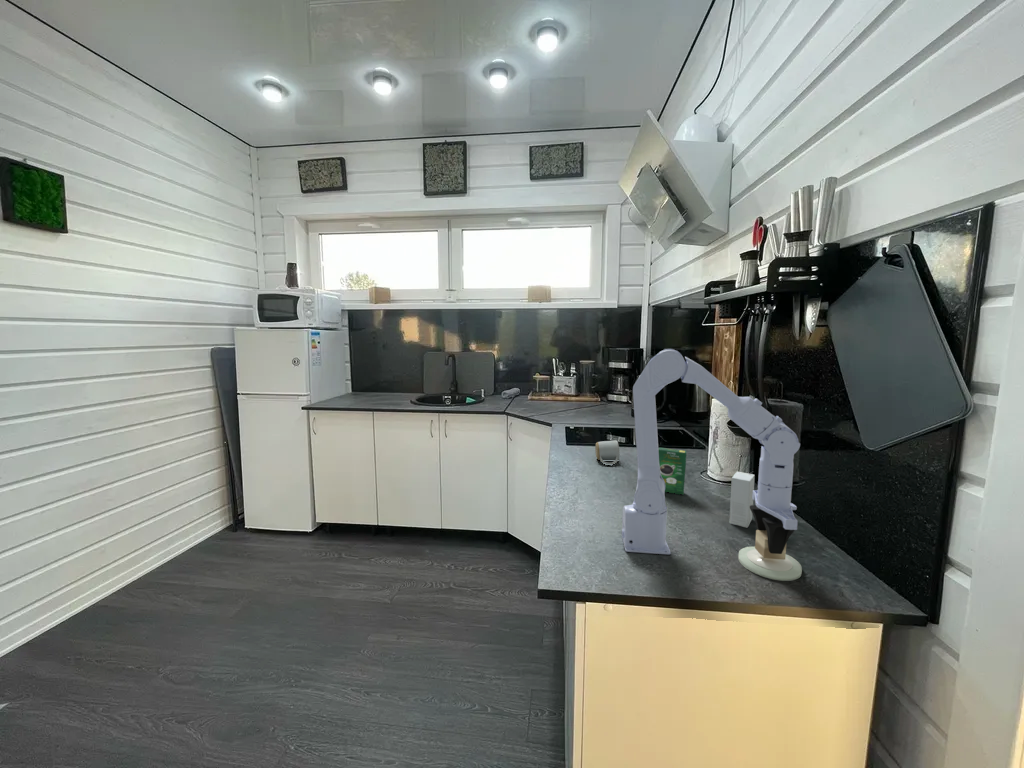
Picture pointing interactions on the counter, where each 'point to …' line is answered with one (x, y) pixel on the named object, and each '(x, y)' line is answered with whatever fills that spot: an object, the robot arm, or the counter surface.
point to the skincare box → (741, 499)
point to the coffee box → (673, 469)
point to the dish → (770, 565)
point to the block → (766, 546)
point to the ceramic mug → (607, 451)
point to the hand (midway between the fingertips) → (770, 546)
